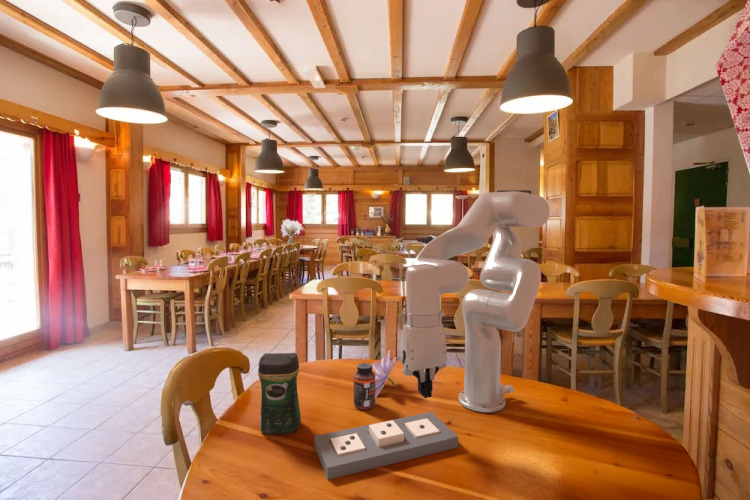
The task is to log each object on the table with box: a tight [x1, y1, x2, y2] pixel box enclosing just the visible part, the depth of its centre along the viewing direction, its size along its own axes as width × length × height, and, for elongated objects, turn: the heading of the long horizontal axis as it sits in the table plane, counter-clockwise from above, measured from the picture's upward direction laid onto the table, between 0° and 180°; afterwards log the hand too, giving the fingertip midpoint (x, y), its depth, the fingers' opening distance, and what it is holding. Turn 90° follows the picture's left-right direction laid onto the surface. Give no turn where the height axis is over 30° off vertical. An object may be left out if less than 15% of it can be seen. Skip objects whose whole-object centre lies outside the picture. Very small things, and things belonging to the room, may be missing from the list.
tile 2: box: [368, 419, 404, 447], centre depth 88 cm, size 6×6×3 cm
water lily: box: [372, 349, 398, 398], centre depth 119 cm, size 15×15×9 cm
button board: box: [313, 411, 459, 481], centre depth 88 cm, size 30×12×2 cm, turn 111°
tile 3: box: [331, 433, 365, 457], centre depth 85 cm, size 6×6×3 cm
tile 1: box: [405, 418, 440, 439], centre depth 92 cm, size 6×6×3 cm
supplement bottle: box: [353, 362, 376, 411], centre depth 107 cm, size 6×6×11 cm
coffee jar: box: [257, 352, 302, 435], centre depth 96 cm, size 10×8×19 cm
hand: (425, 394), depth 92 cm, fingers closed
